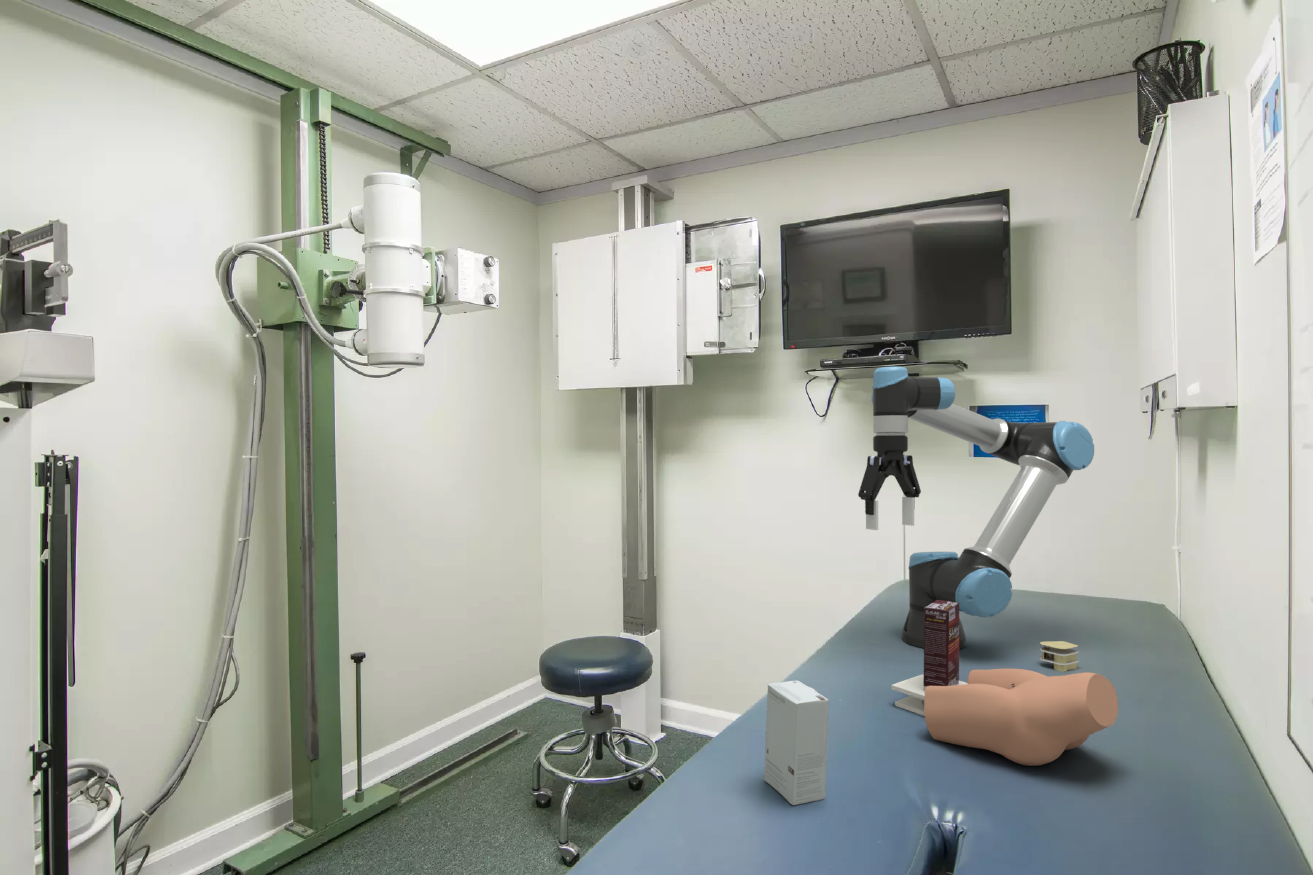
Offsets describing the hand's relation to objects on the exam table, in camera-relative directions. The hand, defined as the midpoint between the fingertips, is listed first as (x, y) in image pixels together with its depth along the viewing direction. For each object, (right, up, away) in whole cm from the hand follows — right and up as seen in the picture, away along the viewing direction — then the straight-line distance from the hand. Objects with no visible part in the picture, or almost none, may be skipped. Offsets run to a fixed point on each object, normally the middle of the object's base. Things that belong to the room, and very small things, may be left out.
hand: (890, 527), depth 158 cm
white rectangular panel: (+1, -32, -25) cm, 41 cm away
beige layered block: (+38, -32, -1) cm, 50 cm away
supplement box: (+1, -28, -25) cm, 37 cm away
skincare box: (-33, -32, -56) cm, 73 cm away
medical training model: (+8, -32, -43) cm, 54 cm away
